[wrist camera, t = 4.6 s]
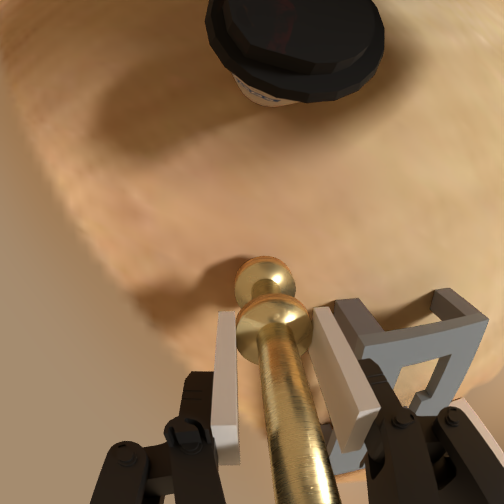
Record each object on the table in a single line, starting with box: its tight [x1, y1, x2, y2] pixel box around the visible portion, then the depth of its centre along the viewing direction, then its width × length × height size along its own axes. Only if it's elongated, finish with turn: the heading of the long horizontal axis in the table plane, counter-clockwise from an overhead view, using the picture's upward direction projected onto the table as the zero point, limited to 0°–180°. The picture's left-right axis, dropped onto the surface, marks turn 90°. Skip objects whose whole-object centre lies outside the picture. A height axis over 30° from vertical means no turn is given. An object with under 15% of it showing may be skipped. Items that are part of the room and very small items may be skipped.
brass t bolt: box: [235, 256, 342, 504], centre depth 12 cm, size 4×4×15 cm
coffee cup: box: [205, 0, 384, 107], centre depth 11 cm, size 7×7×10 cm
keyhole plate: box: [320, 288, 489, 475], centre depth 22 cm, size 18×12×6 cm, turn 0°
